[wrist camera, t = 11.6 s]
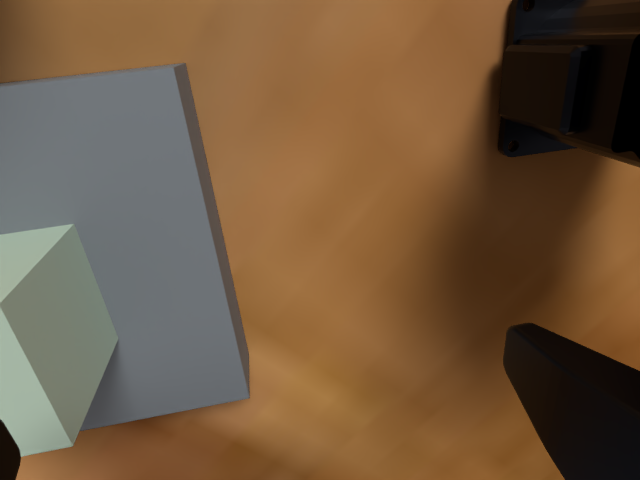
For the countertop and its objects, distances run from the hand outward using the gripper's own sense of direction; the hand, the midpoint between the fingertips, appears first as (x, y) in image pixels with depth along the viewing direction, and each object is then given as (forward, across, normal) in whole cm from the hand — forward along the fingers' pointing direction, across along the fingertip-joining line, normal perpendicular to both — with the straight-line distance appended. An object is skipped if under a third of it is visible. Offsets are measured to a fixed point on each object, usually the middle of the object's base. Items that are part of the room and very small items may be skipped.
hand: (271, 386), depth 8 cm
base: (+12, +9, +2) cm, 15 cm away
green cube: (+9, +9, +2) cm, 13 cm away
